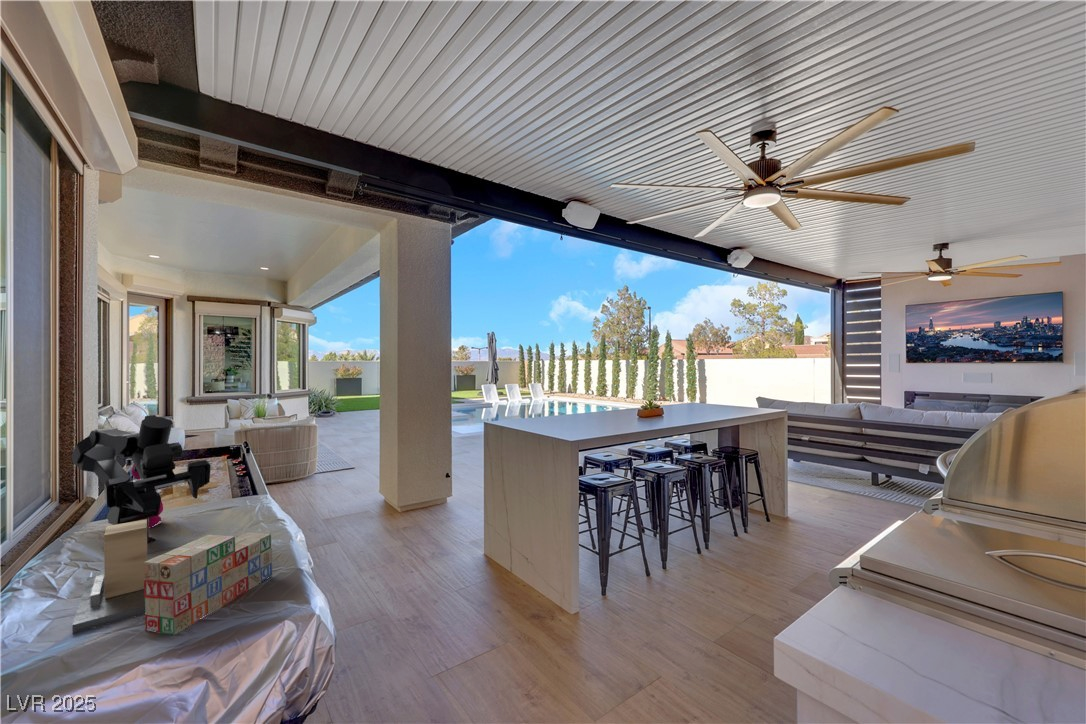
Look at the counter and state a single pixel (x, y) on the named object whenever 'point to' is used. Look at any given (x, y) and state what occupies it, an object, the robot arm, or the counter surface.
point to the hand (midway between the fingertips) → (171, 503)
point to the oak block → (125, 557)
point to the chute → (105, 606)
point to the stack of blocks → (203, 578)
